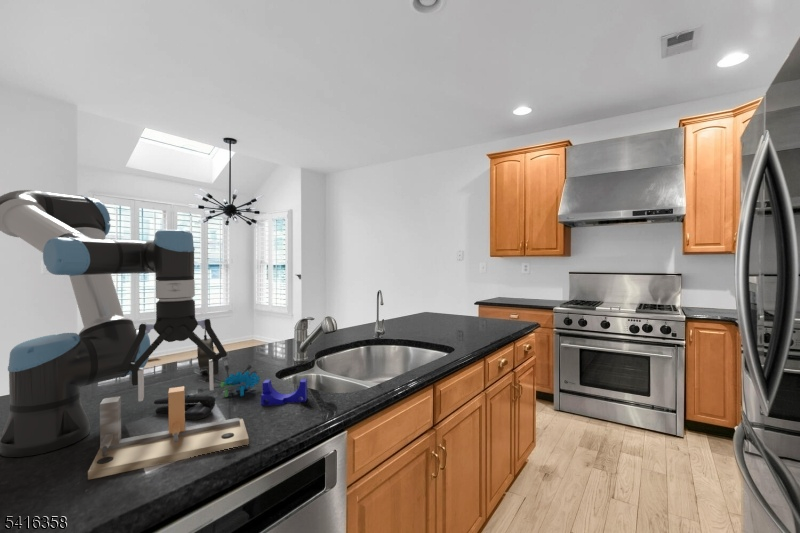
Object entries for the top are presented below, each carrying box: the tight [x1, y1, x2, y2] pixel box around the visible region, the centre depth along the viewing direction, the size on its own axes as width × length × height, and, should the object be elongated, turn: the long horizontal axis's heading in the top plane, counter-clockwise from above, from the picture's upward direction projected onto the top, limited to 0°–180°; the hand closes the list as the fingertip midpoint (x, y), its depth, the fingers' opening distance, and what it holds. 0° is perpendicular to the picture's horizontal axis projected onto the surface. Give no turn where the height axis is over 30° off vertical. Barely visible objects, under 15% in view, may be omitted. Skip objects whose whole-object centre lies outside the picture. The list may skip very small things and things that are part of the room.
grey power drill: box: [196, 329, 215, 375], centre depth 141 cm, size 11×5×16 cm, turn 22°
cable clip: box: [260, 378, 308, 406], centre depth 110 cm, size 12×4×6 cm, turn 94°
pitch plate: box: [87, 396, 250, 481], centre depth 83 cm, size 28×12×12 cm, turn 118°
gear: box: [220, 370, 261, 398], centre depth 116 cm, size 11×6×10 cm
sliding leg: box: [167, 385, 186, 443], centre depth 84 cm, size 3×8×9 cm, turn 28°
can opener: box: [153, 393, 216, 421], centre depth 102 cm, size 18×7×6 cm, turn 78°
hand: (177, 393), depth 86 cm, fingers open, 13 cm apart
